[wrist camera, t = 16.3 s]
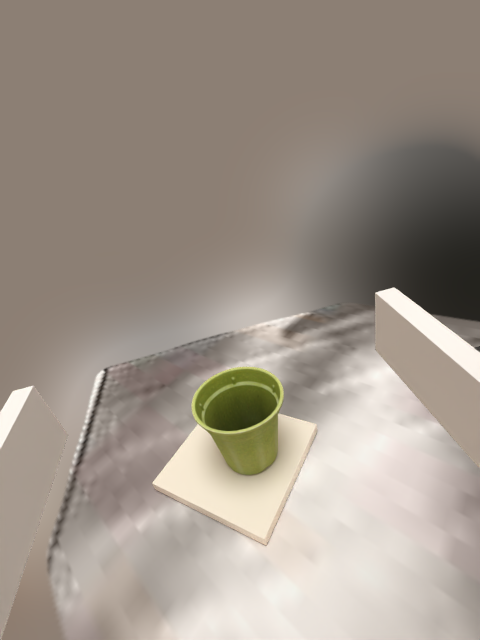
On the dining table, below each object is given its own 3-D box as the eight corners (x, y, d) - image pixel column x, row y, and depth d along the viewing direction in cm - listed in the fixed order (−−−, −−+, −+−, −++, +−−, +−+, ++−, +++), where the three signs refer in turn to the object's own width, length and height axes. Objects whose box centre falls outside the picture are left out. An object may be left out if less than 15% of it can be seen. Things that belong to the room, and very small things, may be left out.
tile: (317, 431, 42) (316, 424, 41) (266, 545, 32) (264, 539, 31) (221, 403, 49) (219, 396, 48) (155, 489, 39) (152, 483, 38)
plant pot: (219, 420, 44) (203, 368, 40) (293, 418, 42) (284, 363, 38) (202, 489, 37) (180, 434, 32) (292, 491, 35) (281, 432, 30)
